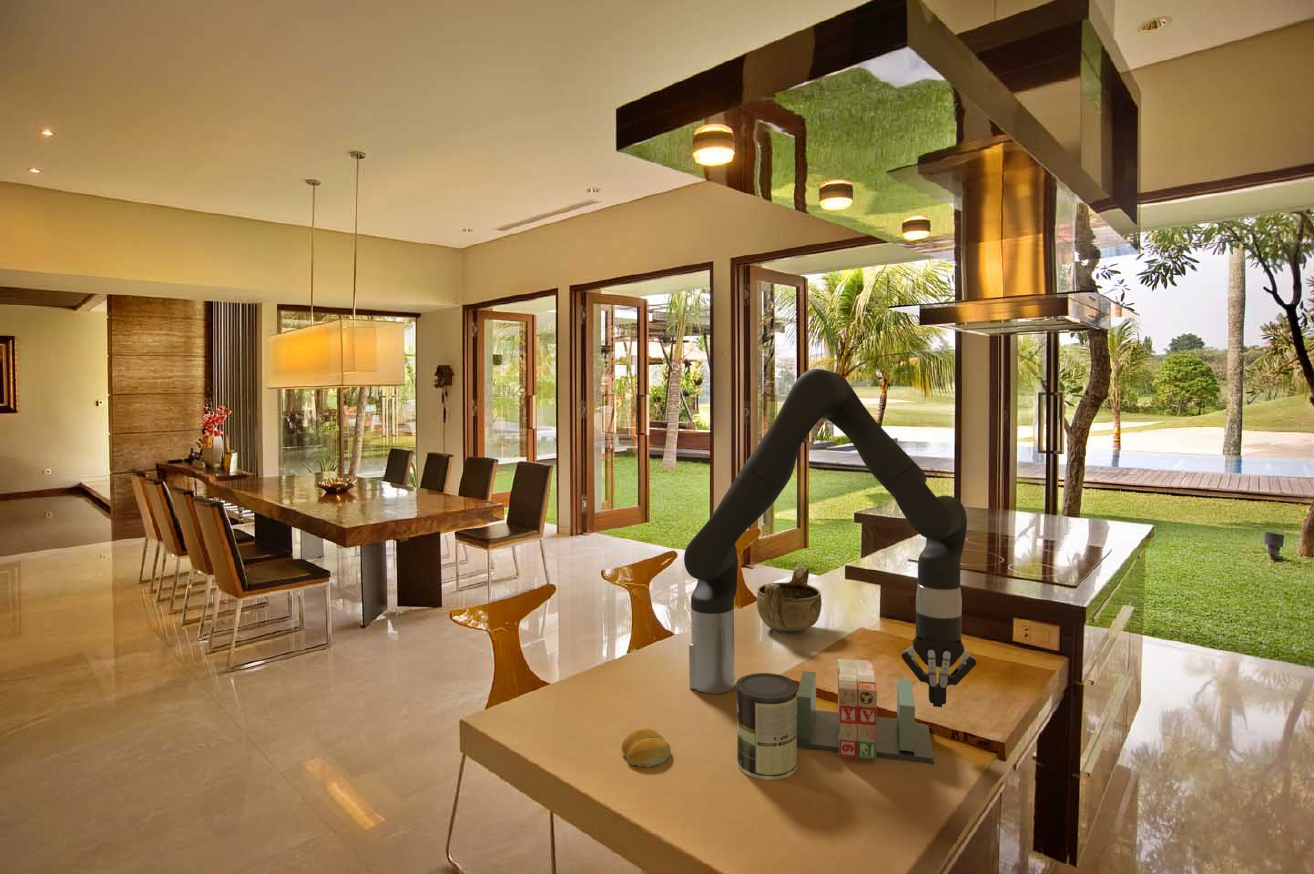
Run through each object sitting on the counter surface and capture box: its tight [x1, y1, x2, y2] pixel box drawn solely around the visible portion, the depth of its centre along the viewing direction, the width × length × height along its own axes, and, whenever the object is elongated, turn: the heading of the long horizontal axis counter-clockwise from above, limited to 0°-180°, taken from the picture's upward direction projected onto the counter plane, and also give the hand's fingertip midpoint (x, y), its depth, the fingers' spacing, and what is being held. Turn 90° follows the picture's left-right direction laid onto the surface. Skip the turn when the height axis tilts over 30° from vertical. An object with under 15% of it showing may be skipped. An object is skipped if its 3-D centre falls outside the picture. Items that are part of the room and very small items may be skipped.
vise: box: [797, 670, 935, 765], centre depth 133 cm, size 24×14×9 cm, turn 74°
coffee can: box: [735, 672, 798, 781], centre depth 123 cm, size 10×10×14 cm
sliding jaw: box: [896, 677, 916, 752], centre depth 130 cm, size 2×12×8 cm, turn 164°
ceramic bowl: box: [756, 565, 823, 635], centre depth 191 cm, size 22×17×15 cm
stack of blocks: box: [836, 658, 878, 760], centre depth 133 cm, size 21×6×12 cm, turn 167°
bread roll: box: [621, 728, 671, 767], centre depth 128 cm, size 8×9×4 cm
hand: (937, 705), depth 129 cm, fingers closed
